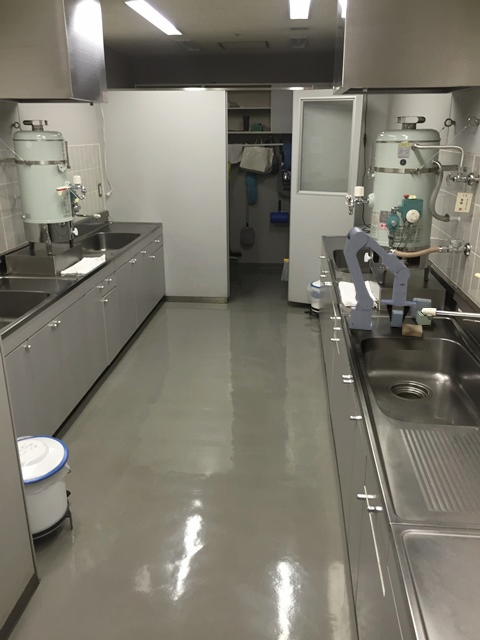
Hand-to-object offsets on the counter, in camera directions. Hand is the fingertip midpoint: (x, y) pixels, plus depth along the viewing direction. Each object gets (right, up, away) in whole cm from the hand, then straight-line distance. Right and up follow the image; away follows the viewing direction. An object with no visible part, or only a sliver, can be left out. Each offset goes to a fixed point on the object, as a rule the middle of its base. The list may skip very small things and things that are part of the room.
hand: (396, 321), depth 231 cm
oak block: (+5, -5, -6) cm, 9 cm away
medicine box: (+14, +1, +10) cm, 17 cm away
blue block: (0, -2, +1) cm, 2 cm away
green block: (+13, -1, +3) cm, 13 cm away
